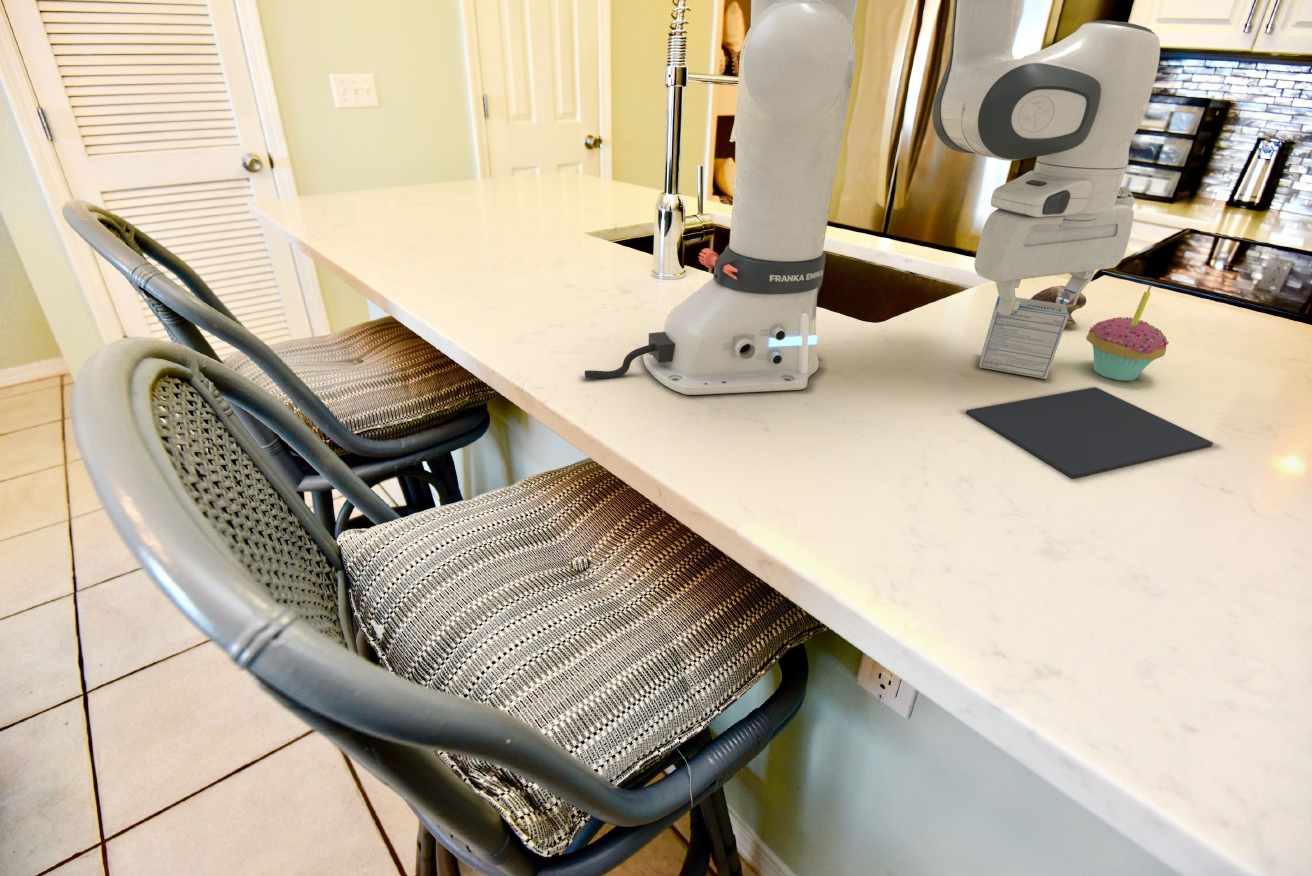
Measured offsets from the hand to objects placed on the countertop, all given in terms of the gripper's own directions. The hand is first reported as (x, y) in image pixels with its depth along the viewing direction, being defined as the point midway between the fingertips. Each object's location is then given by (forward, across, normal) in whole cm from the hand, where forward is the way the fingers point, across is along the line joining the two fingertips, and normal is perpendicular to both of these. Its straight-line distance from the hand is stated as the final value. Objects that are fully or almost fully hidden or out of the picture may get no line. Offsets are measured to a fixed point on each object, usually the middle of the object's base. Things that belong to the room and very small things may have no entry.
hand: (1036, 309), depth 82 cm
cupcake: (+8, -11, +5) cm, 15 cm away
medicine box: (+8, +1, 0) cm, 8 cm away
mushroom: (+8, -19, -12) cm, 24 cm away
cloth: (+8, +6, +15) cm, 18 cm away
